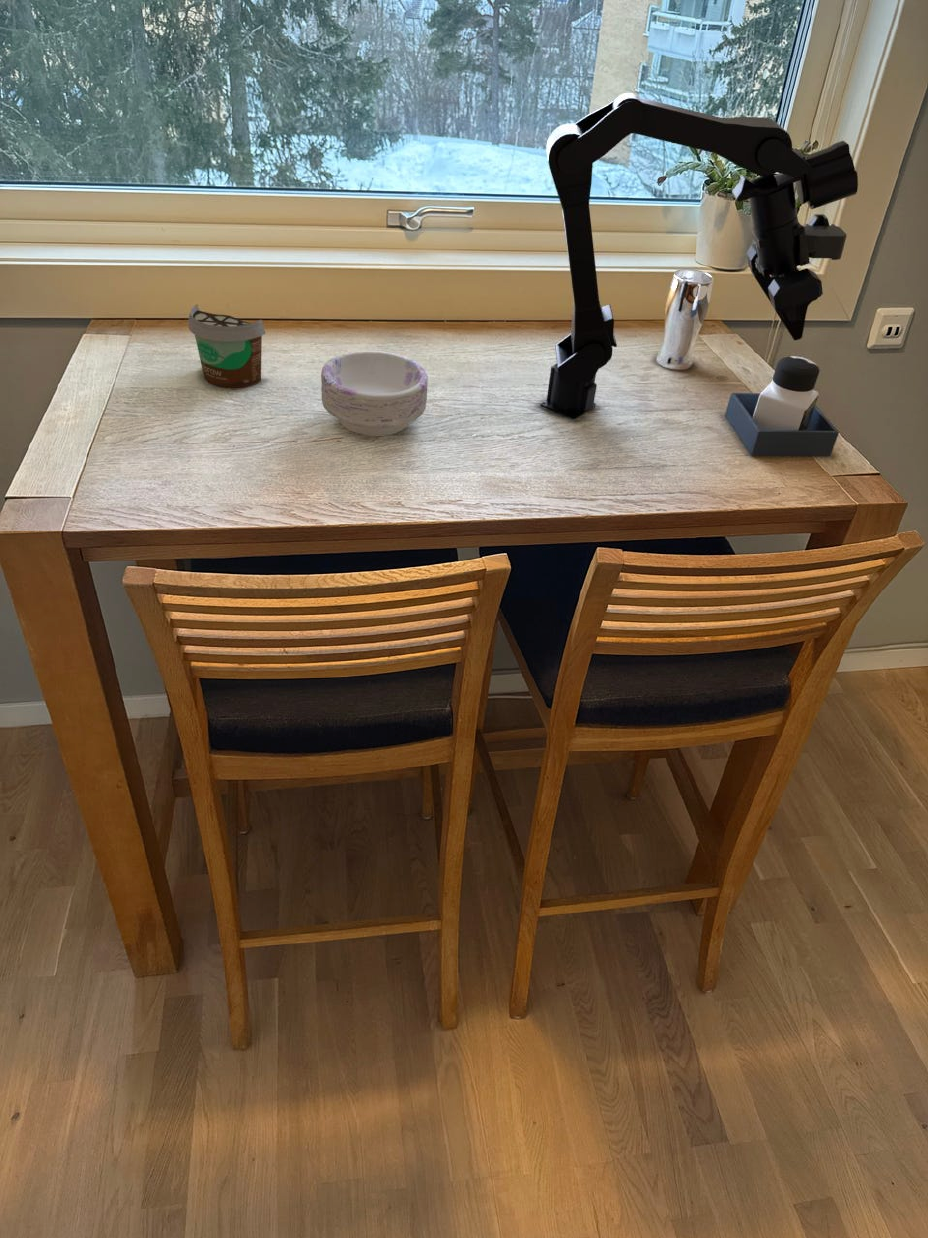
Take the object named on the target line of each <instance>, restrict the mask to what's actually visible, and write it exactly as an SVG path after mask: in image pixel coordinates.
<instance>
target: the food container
mask: <svg viewBox="0 0 928 1238" xmlns="http://www.w3.org/2000/svg"><path fill="white" fill-rule="evenodd" d="M187 324H188V330H189V331H190V332H191V333H192V334H193V335H194V338H195V342H196V347H197V351H198V355H199V356H198V357H199V360H200V364H201V370H202V373H203V374H202V375H203V378H204V380H205V381H206V382H207V383H208V384H210V385H212V386H215V387H218V388H223V389H242V388H247V387H251V386H254V385H256V384H258V383H260V382H262V344H263V343H262V342H263V341H262V340H263V338H262V337H263V336H264V335H267V334H266V329H265V326H264V323H263V321H262V319H259V320H258V321H255V322H252V323H251V322H247V321H244V320H242V319H239V318H237V317H234V316H231V315H227V314H216V313H211V312H207V311H202V310H200V309H199V305H198V303H197V304H195V305H193V306H192V308H191V309H190V313H189V316H188V323H187Z"/></svg>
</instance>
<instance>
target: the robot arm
mask: <svg viewBox="0 0 928 1238" xmlns="http://www.w3.org/2000/svg"><path fill="white" fill-rule="evenodd" d="M632 134H635V135H639V136H643V137H647V138H651V139H655V140H658V141H659V140H660V141H664V142H667V143H672V144H675V145H680V146H683V147H686V148H687V147H688V148H692V149H695V150H700V151H704V152H708V153H712V154H715V155H718V156H719V157H722V158H723V159H725V160H727V161H729V162H731V163H732V164H733V165H735V166H737V167H740V168H741V169H744V170H746V171H747V172H750V173H751V174H754V175H756V176H757V177H754V178H748V177H747V176H745V175H741V177H740V179H739V182H738V183H737V184H736V186H734V188H733V189H732V191H731V195H732V196H733V197H734V198H735V200H736V202H738V203H740V202H743V201H746V200H748V202H749V207H750V214H751V221H752V227H753V229H751V231H750V232H751V237H752V239H753V240H754V242H755V243H754V244H751V245H750V246H749V248H748V250H746V253H745V254H746V260H747V261H746V262H747V266H748V268H749V269H750V272H751V274H752V276H753V277H754V279H756V282H757V283H758V285H759V286H760V289H761V290H762V291H763V293H764V295H765V296H766V298H767V299H768V301H769V303H770V304H771V306H772V308H773V310H774V311H775V312H776V314H777V316H778V317H779V319H780V321H781V322H782V324H783V325H784V327H785V328H786V330H787V332H788V333H789V335H790V336H791V338H792V339H793V341H799V340H801V339H802V338H803V336H804V335H803V334H804V329H805V324H806V318H807V312H808V308H809V306H810V304H812V302H815V301H817V300H818V299H819V298H820V297H822V295H823V294H824V292H823V284H822V279H820V277H819V275H817V274H816V272H814V271H813V270H811V269H809V268H807V267H806V268H803V269H798V267H799V266H800V267H803V266H806V265H809V264H811V261H810V259H830V260H832V261H838V260H841V259H842V255H843V252H844V247H845V243H846V240H847V236H848V234H847V233H846V232H845V231H844V230H843V229H842V228H841V227H840V226H837V225H836V224H834V223H831V224H830V221H829V219H828V217H827V216H826V215H825V214H824V213H823V214H822V213H821V214H819V213H818V214H817V213H816V214H815V213H814V214H813V215H812V217H811V218H810V219H809V221H808V222H807V223H805V224H804V225H803V224H801V223H800V221H799V218H798V209H797V202H796V194H797V198H798V201H799V202H800V205H805V204H807V205H808V207H809V209H810V210H815V209H817V208H820V207H823V206H826V205H829V204H831V203H835V202H838V201H841V200H845V199H847V198H849V197H852V196H855V195H856V194H857V193H858V189H859V177H858V171H857V170H856V168H855V163H854V160H853V157H852V154H851V151H850V144H849V143H847V142H846V141H845V140H841V141H838V142H835V143H833V144H831V145H830V146H828V147H826V148H823V149H821V150H817V151H815V152H812V153H810V154H806V155H804V154H803V153H802V152H801V151H800V150H798V148H796V147H795V148H793V141H792V139H791V136H790V134H789V132H787V131H786V130H785V129H784V128H783V127H782V126H781V125H780V124H779V123H777V121H775V120H773V119H772V118H769V117H756V116H755V117H754V116H737V117H719V116H717V115H712V114H707V113H704V112H699V111H695V110H692V109H688V108H683V107H679V106H676V105H672V104H668V103H665V102H664V103H663V102H660V101H656V100H651V99H647V98H643V97H640V96H638V95H636V94H635V93H633V92H623V93H620V95H618V96H617V97H616V98H615V99H613V100H612V101H610V102H609V103H608V104H606V105H604V106H601V107H599V108H598V109H595V110H594V111H592V112H591V113H589V114H587V115H586V116H583V117H582V118H581V119H579V120H578V121H576V122H574V123H564V124H561V125H559V126H557V127H556V128H555V129H554V130H553V131H552V132H551V133H550V135H549V137H548V138H547V142H546V156H547V163H548V167H549V170H550V175H551V178H552V181H553V184H554V187H555V191H556V193H557V197H558V200H559V203H560V205H561V209H562V217H563V225H564V232H565V242H566V249H567V256H568V257H567V258H568V266H569V274H570V280H571V289H572V299H573V303H572V314H571V326H570V333H569V334H568V335H566V336H564V337H563V338H562V339H561V340H560V341H558V342H557V343H556V344H555V345H554V346H555V347H554V349H555V358H556V363H555V364H553V365H551V367H550V373H549V380H548V388H547V395H546V399H545V400H543V401H542V402H540V407H541V408H543V409H545V410H548V411H550V412H553V413H556V414H558V415H561V416H563V417H566V418H568V419H570V420H578V418H581V417H582V416H583V415H586V414H587V413H589V412H590V411H592V410H593V409H595V408H596V403H595V398H596V393H597V388H598V385H597V383H596V377H597V374H598V371H599V370H600V369H602V368H603V367H604V366H606V365H607V364H608V363H609V361H611V359H612V357H613V347H614V348H617V347H618V343H617V340H616V339H617V338H616V337H615V336H616V335H615V332H614V329H615V317H614V315H613V310H612V307H611V306H612V305H611V304H607V305H604V306H602V304H601V300H600V296H599V295H600V293H599V286H598V285H599V284H598V277H597V268H596V267H597V266H596V259H595V248H594V239H593V238H594V237H593V229H592V221H591V219H592V218H591V212H590V211H591V210H590V209H591V208H590V198H591V190H592V183H593V165H594V163H595V162H597V161H599V160H600V159H601V158H603V157H604V156H605V155H608V153H609V152H610V151H612V149H614V148H615V147H616V146H617V145H618V144H619V143H621V142H622V141H623V140H624V139H625V138H627V137H628V136H630V135H632ZM777 173H778V175H775V174H777ZM794 183H795V186H794ZM795 190H796V194H795Z"/></svg>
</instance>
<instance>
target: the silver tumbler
mask: <svg viewBox="0 0 928 1238" xmlns="http://www.w3.org/2000/svg"><path fill="white" fill-rule="evenodd" d="M714 281H715V278H714V276H713V275H711V274H710V273H708V272H706V271H702V270H699V269H693V268H682V269H677V270H675V271H674V272H673V276H672V278H671V281H670V282H671V283H670V286H669V289H668V293H667V296H666V302H665V310H664V328H663V339H662V343H661V346H660V349H659V351H658V354H657V356H656V362H657V364H658V365H660V366H661V367H663V368H666V369H669V370H675V371H683V370H688V369H690V368H691V367H692V364H693V353H694V347H695V343H696V340H697V338H698V335H699V333H700V330H701V328H702V327H703V324H704V321H705V319H706V316H707V313H708V310H709V307H710V302H711V298H712V292H713V286H714V285H713V284H714Z"/></svg>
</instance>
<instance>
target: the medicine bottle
mask: <svg viewBox="0 0 928 1238" xmlns="http://www.w3.org/2000/svg"><path fill="white" fill-rule="evenodd" d="M820 371H821V369H820V367H819V365H818V364H817V363H815V362H814V361H812V360H811V359H809V358H806V357H802V356H796V355H791V356H784V357H782V358H780V359H779V360H778V361H777V362H776V367H775V369H774V373H773V376H772V380H771V382H769V384H768V385H767V386H766V387H765V388H764V389H763V390H762V392H760V393H761V394H760V395H759V399H758V402H757V405H756V408H755V412H754V415H753V420H754V421H755V423H756V424H757V425H758V427H759V428H760V430H801V431H807V430H806V429H807V426H808V423H809V421H810V418H811V415H812V412H813V409H814V406H815V405H817V404H816V403H817V400H818V398H819V395H820V393H819V391H817V390H814V389H815V386H816V383H817V381H818V377H819V375H820Z"/></svg>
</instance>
